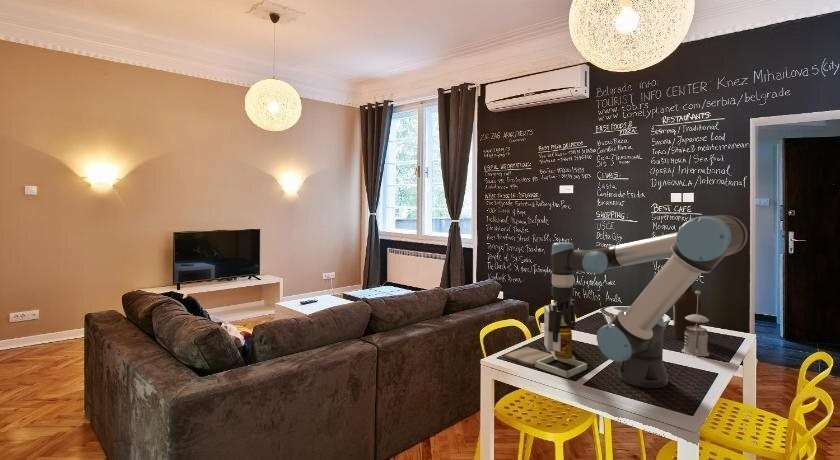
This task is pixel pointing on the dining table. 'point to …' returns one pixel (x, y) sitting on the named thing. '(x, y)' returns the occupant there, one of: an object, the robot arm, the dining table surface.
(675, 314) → the olive oil
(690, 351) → the french press
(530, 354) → the board
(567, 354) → the condiment
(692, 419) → the dining table surface
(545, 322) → the supplement box
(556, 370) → the tray
